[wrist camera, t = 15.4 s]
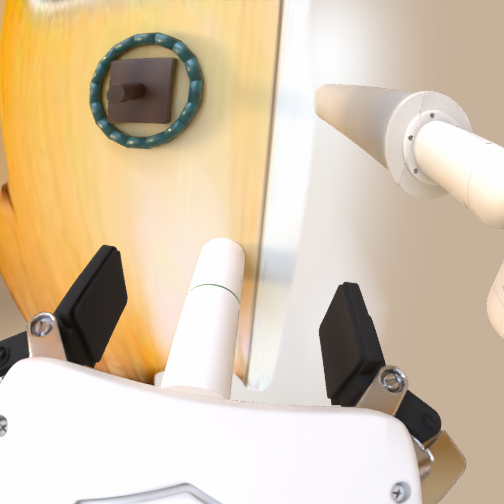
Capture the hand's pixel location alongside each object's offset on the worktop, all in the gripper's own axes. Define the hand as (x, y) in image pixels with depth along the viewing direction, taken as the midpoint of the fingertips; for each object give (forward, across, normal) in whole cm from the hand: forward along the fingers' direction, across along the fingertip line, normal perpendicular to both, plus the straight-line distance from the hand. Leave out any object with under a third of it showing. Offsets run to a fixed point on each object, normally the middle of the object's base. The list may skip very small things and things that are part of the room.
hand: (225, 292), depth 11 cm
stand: (+28, +16, -6) cm, 33 cm away
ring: (+28, +16, -6) cm, 32 cm away
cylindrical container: (+28, +2, +19) cm, 34 cm away
